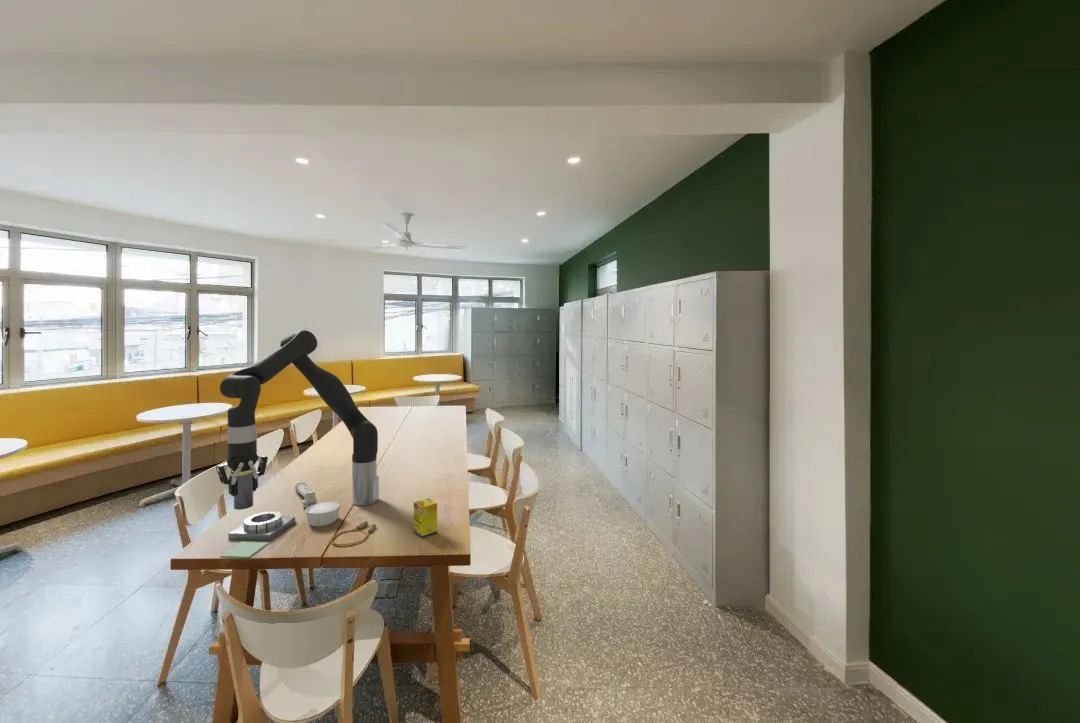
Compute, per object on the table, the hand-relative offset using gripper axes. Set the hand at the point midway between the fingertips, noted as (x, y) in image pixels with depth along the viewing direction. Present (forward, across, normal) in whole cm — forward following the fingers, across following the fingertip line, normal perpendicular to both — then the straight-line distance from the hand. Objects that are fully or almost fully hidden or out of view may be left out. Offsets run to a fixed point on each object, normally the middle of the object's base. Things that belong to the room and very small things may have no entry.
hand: (243, 492), depth 134 cm
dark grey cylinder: (+4, 0, 0) cm, 4 cm away
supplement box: (+19, -40, +38) cm, 58 cm away
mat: (+19, 0, 0) cm, 19 cm away
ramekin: (+19, -26, 0) cm, 32 cm away
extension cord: (+19, -25, +20) cm, 37 cm away
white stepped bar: (+19, -33, -25) cm, 46 cm away
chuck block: (+19, -10, -10) cm, 23 cm away
